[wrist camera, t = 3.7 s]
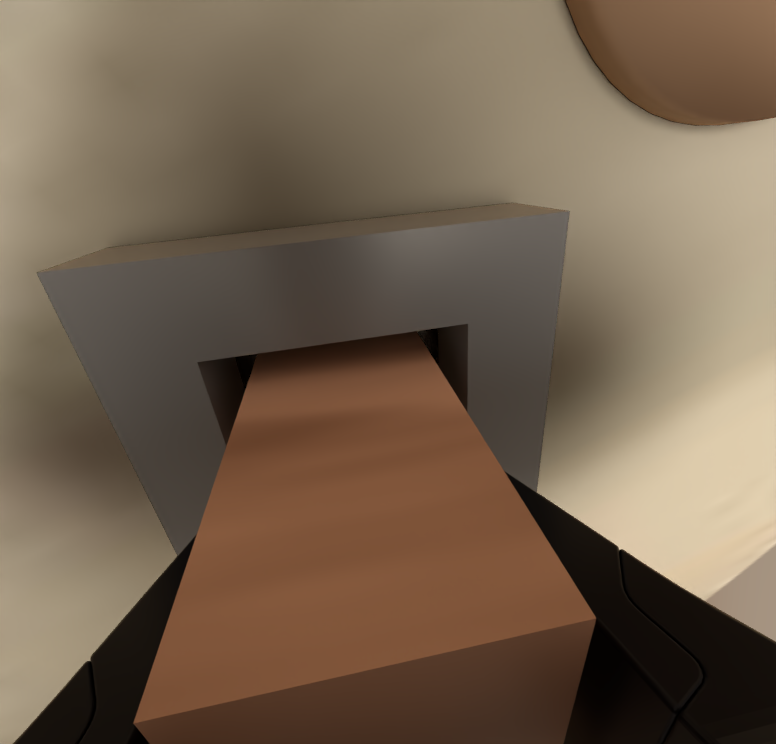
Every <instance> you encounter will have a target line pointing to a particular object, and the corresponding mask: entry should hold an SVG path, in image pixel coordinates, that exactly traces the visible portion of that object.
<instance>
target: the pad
mask: <svg viewBox="0 0 776 744" xmlns="http://www.w3.org/2000/svg"><path fill="white" fill-rule="evenodd" d="M566 3H567V5H568V8H569V10H570V13H571V15H572V18H573V20H574V23H575V25H576V28H577V30H578V33H579V35H580V37H581V39H582V40H583V42H584V44H585V46H586V47H587V49H588V51H589V53H590V55H591V56H592V58H593V60H594V62H595V63H596V64H597V65H598V67H599V68H600V69H601V71H602V72H603V73H604V74H605V76H606V77H607V78H608V80H609V81H610V82H611V83H612V84H613V85H614V86H615V87H616V88H617V89H618V90H619V91H620V92H622V93H623V94H624V95H625V96H626V97H627V98H628V99H629V100H630V101H632V102H633V103H635V104H637V105H638V106H640V107H642V108H643V109H645V110H646V111H648V112H650V113H651V114H654V115H657V116H659V117H662V118H665V119H667V120H670V121H673V122H679V123H684V124H690V125H724V124H732V123H740V122H749V121H757V120H763V119H769V118H774V117H776V0H566Z"/></svg>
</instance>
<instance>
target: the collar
mask: <svg viewBox="0 0 776 744" xmlns="http://www.w3.org/2000/svg"><path fill="white" fill-rule="evenodd" d="M569 212H570V211H565V210H558V209H552V208H545V207H538V206H531V205H525V204H518V203H505V204H496V205H487V206H478V207H469V208H460V209H451V210H442V211H433V212H424V213H415V214H406V215H397V216H388V217H379V218H370V219H361V220H352V221H343V222H334V223H325V224H317V225H308V226H299V227H290V228H281V229H272V230H263V231H254V232H245V233H236V234H227V235H218V236H209V237H200V238H191V239H182V240H173V241H164V242H155V243H146V244H137V245H128V246H119V247H110V248H105V249H102V250H99V251H97V252H94V253H91V254H88V255H85V256H82V257H80V258H77V259H74V260H71V261H68V262H65V263H62V264H60V265H57V266H54V267H51V268H48V269H45V270H43V271H40V272H37V275H38V277H39V279H40V281H41V283H42V285H43V287H44V289H45V291H46V293H47V295H48V297H49V299H50V301H51V303H52V305H53V307H54V309H55V311H56V313H57V315H58V317H59V319H60V321H61V323H62V325H63V327H64V329H65V331H66V333H67V335H68V337H69V339H70V341H71V343H72V345H73V347H74V349H75V351H76V353H77V355H78V357H79V359H80V361H81V363H82V365H83V367H84V369H85V371H86V373H87V375H88V377H89V379H90V381H91V383H92V385H93V387H94V389H95V391H96V393H97V395H98V397H99V399H100V401H101V403H102V405H103V407H104V409H105V411H106V413H107V415H108V417H109V419H110V421H111V423H112V425H113V427H114V429H115V431H116V433H117V435H118V437H119V439H120V441H121V444H122V446H123V448H124V450H125V452H126V454H127V456H128V458H129V460H130V462H131V464H132V466H133V468H134V470H135V472H136V474H137V476H138V478H139V480H140V482H141V484H142V486H143V488H144V490H145V492H146V494H147V496H148V498H149V500H150V502H151V504H152V506H153V508H154V510H155V512H156V514H157V516H158V518H159V520H160V522H161V524H162V526H163V528H164V530H165V532H166V534H167V536H168V538H169V540H170V542H171V544H172V546H173V548H174V550H175V552H176V554H177V556H178V555H179V554H180V553H181V551H182V550H183V549H184V548H185V547H186V546H187V545H188V543H189V542H190V541H191V540H192V539H193V538H194V536H195V535H196V534H197V533H198V530H199V527H200V524H201V521H202V518H203V515H204V512H205V509H206V506H207V503H208V500H209V497H210V494H211V491H212V488H213V485H214V482H215V479H216V476H217V473H218V470H219V467H220V464H221V461H222V458H223V455H224V452H225V449H226V446H227V443H228V440H229V437H230V434H231V431H232V428H233V425H234V422H235V419H236V416H237V413H238V411H239V408H240V405H241V402H242V399H243V396H244V393H245V390H244V386H243V383H242V380H241V376H240V373H239V369H238V366H237V363H236V359H235V357H238V356H245V355H252V354H259V353H266V352H273V351H280V350H287V349H294V348H301V347H308V346H315V345H322V344H329V343H336V342H343V341H350V340H357V339H364V338H372V337H379V336H386V335H393V334H400V333H407V332H414V331H421V330H428V329H435V328H438V360H439V368H440V370H441V371H442V373H443V375H444V376H445V378H446V379H447V381H448V383H449V384H450V386H451V387H452V389H453V391H454V392H455V394H456V395H457V397H458V398H459V400H460V402H461V403H462V405H463V406H464V408H465V410H466V411H467V413H468V414H469V416H470V418H471V419H472V421H473V422H474V424H475V426H476V427H477V429H478V430H479V432H480V434H481V435H482V437H483V438H484V440H485V442H486V443H487V445H488V446H489V448H490V449H491V451H492V453H493V454H494V456H495V457H496V459H497V461H498V462H499V464H500V465H501V467H502V469H503V470H504V471H505V472H507V473H508V474H510V475H511V476H513V477H514V478H516V479H517V480H519V481H520V482H522V483H523V484H525V485H526V486H528V487H529V488H531V489H532V490H534V491H535V492H537V485H538V476H539V468H540V459H541V451H542V442H543V434H544V425H545V417H546V408H547V399H548V391H549V382H550V374H551V365H552V357H553V348H554V340H555V331H556V323H557V314H558V306H559V297H560V288H561V280H562V271H563V263H564V254H565V246H566V237H567V229H568V220H569Z"/></svg>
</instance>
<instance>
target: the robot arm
mask: <svg viewBox="0 0 776 744" xmlns="http://www.w3.org/2000/svg"><path fill="white" fill-rule="evenodd" d="M504 472H505V471H504ZM505 473H506V475H507V477H508V478H509V480H510V481H511V483H512V485H513V486H514V488H515V489H516V491H517V493H518V494H519V496H520V497H521V499H522V500H523V502H524V504H525V505H526V507H527V508H528V510H529V512H530V513H531V515H532V516H533V518H534V520H535V521H536V523H537V524H538V526H539V528H540V529H541V531H542V532H543V534H544V536H545V537H546V539H547V540H548V542H549V544H550V545H551V547H552V548H553V550H554V552H555V553H556V555H557V556H558V558H559V559H560V561H561V563H562V564H563V566H564V567H565V569H566V571H567V572H568V574H569V575H570V577H571V579H572V580H573V582H574V583H575V585H576V587H577V588H578V590H579V591H580V593H581V595H582V596H583V598H584V599H585V601H586V603H587V604H588V606H589V607H590V609H591V610H592V612H593V614H594V615H595V617H596V622H595V625H594V629H593V633H592V637H591V641H590V644H589V648H588V652H587V656H586V660H585V663H584V667H583V671H582V675H581V679H580V682H579V686H578V690H577V694H576V698H575V702H574V705H573V709H572V713H571V717H570V721H569V724H568V728H567V732H566V736H565V740H564V743H563V744H776V642H775V641H773V640H772V639H770V638H768V637H766V636H765V635H763V634H761V633H760V632H758V631H756V630H754V629H753V628H751V627H749V626H747V625H746V624H744V623H742V622H740V621H738V620H737V619H735V618H733V617H731V616H730V615H728V614H726V613H724V612H722V611H721V610H719V609H717V608H716V607H714V606H712V605H710V604H709V603H707V602H706V601H704V600H702V599H701V598H699V597H697V596H695V595H694V594H692V593H690V592H689V591H687V590H685V589H684V588H682V587H680V586H679V585H677V584H675V583H674V582H672V581H671V580H669V579H668V578H666V577H664V576H663V575H661V574H660V573H658V572H657V571H655V570H653V569H652V568H650V567H649V566H647V565H646V564H644V563H642V562H641V561H639V560H638V559H636V558H635V557H633V556H632V555H630V554H629V553H627V552H626V551H624V550H622V549H621V550H619V548H618V546H617V545H615V544H614V543H612V542H611V541H609V540H608V539H606V538H605V537H603V536H602V535H600V534H599V533H597V532H596V531H594V530H593V529H591V528H590V527H588V526H587V525H585V524H584V523H582V522H581V521H579V520H577V519H576V518H574V517H573V516H571V515H570V514H568V513H567V512H565V511H564V510H562V509H561V508H559V507H558V506H556V505H555V504H553V503H552V502H550V501H549V500H547V499H546V498H544V497H543V496H541V495H540V494H538V493H537V492H535V491H534V490H532V489H531V488H529V487H528V486H526V485H525V484H523V483H522V482H520V481H519V480H517V479H516V478H514V477H513V476H511V475H510V474H508V473H507V472H505ZM196 535H197V534H196ZM196 535H195V536H194V538H193V539H192V540H191V541H190V542H189V543H188V545H187V546H186V547H185V548H184V549H183V550H182V551H181V553H180V554H179V555H178V556H177V557H176V558H175V560H174V561H173V562H172V563H171V564H170V565H169V566H168V568H167V569H166V570H165V571H164V572H163V573H162V575H161V576H160V577H159V578H158V579H157V580H156V582H155V583H154V584H153V585H152V586H151V587H150V588H149V590H148V591H147V592H146V593H145V594H144V595H143V597H142V598H141V599H140V600H139V601H138V602H137V604H136V605H135V606H134V607H133V608H132V609H131V610H130V612H129V613H128V614H127V615H126V616H125V617H124V619H123V620H122V621H121V622H120V623H119V624H118V625H117V627H116V628H115V629H114V630H113V631H112V632H111V634H110V635H109V636H108V637H107V638H106V639H105V641H104V642H103V643H102V644H101V645H100V646H99V647H98V649H97V650H96V651H95V652H94V653H93V654H92V656H91V661H87V662H85V663H84V665H83V666H82V667H81V668H80V669H79V670H78V671H77V673H76V674H75V675H74V676H73V677H72V678H71V680H70V681H69V682H68V683H67V684H66V685H65V687H64V688H63V689H62V690H61V691H60V692H59V693H58V694H57V696H56V697H55V698H54V699H53V700H52V701H51V702H50V703H49V704H48V706H47V707H46V708H45V709H44V710H43V711H42V712H41V713H40V715H39V716H38V717H37V718H36V719H35V720H34V721H33V722H32V724H31V725H30V726H29V727H28V728H27V729H26V730H25V731H24V732H23V734H22V735H21V736H20V737H19V738H18V739H17V740H16V741H15V742H14V743H13V744H150V743H149V742H148V741H147V740H146V738H145V737H144V736H143V735H142V733H141V732H140V731H139V730H138V729H137V727H136V726H135V725H134V724H133V723H134V720H135V717H136V714H137V711H138V708H139V705H140V702H141V699H142V696H143V693H144V690H145V687H146V684H147V681H148V678H149V675H150V672H151V669H152V666H153V663H154V660H155V657H156V655H157V652H158V649H159V646H160V643H161V640H162V637H163V634H164V631H165V628H166V625H167V622H168V619H169V616H170V613H171V610H172V607H173V604H174V601H175V598H176V595H177V592H178V589H179V586H180V583H181V580H182V577H183V574H184V571H185V568H186V565H187V562H188V559H189V556H190V553H191V550H192V547H193V544H194V541H195V538H196Z"/></svg>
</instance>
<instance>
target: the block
mask: <svg viewBox="0 0 776 744" xmlns="http://www.w3.org/2000/svg"><path fill="white" fill-rule="evenodd" d="M595 622H596V617H595V615H594V614H593V612H592V610H591V609H590V607H589V606H588V604H587V603H586V601H585V599H584V598H583V596H582V595H581V593H580V591H579V590H578V588H577V587H576V585H575V583H574V582H573V580H572V579H571V577H570V575H569V574H568V572H567V571H566V569H565V567H564V566H563V564H562V563H561V561H560V559H559V558H558V556H557V555H556V553H555V552H554V550H553V548H552V547H551V545H550V544H549V542H548V540H547V539H546V537H545V536H544V534H543V532H542V531H541V529H540V528H539V526H538V524H537V523H536V521H535V520H534V518H533V516H532V515H531V513H530V512H529V510H528V508H527V507H526V505H525V504H524V502H523V500H522V499H521V497H520V496H519V494H518V493H517V491H516V489H515V488H514V486H513V485H512V483H511V481H510V480H509V478H508V477H507V475H506V473H505V472H504V470H503V469H502V467H501V465H500V464H499V462H498V461H497V459H496V457H495V456H494V454H493V453H492V451H491V449H490V448H489V446H488V445H487V443H486V442H485V440H484V438H483V437H482V435H481V434H480V432H479V430H478V429H477V427H476V426H475V424H474V422H473V421H472V419H471V418H470V416H469V414H468V413H467V411H466V410H465V408H464V406H463V405H462V403H461V402H460V400H459V398H458V397H457V395H456V394H455V392H454V391H453V389H452V387H451V386H450V384H449V383H448V381H447V379H446V378H445V376H444V375H443V373H442V371H441V370H440V368H439V367H438V365H437V363H436V362H435V360H434V359H433V357H432V355H431V354H430V352H429V351H428V349H427V347H426V346H425V344H424V343H423V341H422V340H421V338H420V336H419V335H418V333H417V332H416V331H414V332H407V333H400V334H393V335H386V336H379V337H372V338H364V339H357V340H350V341H343V342H336V343H329V344H322V345H315V346H308V347H301V348H294V349H287V350H280V351H273V352H266V353H259V354H257V357H256V360H255V363H254V366H253V369H252V372H251V375H250V378H249V381H248V384H247V387H246V390H245V393H244V396H243V399H242V402H241V405H240V408H239V411H238V413H237V416H236V419H235V422H234V425H233V428H232V431H231V434H230V437H229V440H228V443H227V446H226V449H225V452H224V455H223V458H222V461H221V464H220V467H219V470H218V473H217V476H216V479H215V482H214V485H213V488H212V491H211V494H210V497H209V500H208V503H207V506H206V509H205V512H204V515H203V518H202V521H201V524H200V527H199V530H198V533H197V535H196V538H195V541H194V544H193V547H192V550H191V553H190V556H189V559H188V562H187V565H186V568H185V571H184V574H183V577H182V580H181V583H180V586H179V589H178V592H177V595H176V598H175V601H174V604H173V607H172V610H171V613H170V616H169V619H168V622H167V625H166V628H165V631H164V634H163V637H162V640H161V643H160V646H159V649H158V652H157V655H156V657H155V660H154V663H153V666H152V669H151V672H150V675H149V678H148V681H147V684H146V687H145V690H144V693H143V696H142V699H141V702H140V705H139V708H138V711H137V714H136V717H135V720H134V723H133V724H134V725H135V726H136V727H137V729H138V730H139V731H140V732H141V733H142V735H143V736H144V737H145V738H146V740H147V741H148V742H149V743H150V744H563V743H564V740H565V736H566V732H567V728H568V724H569V721H570V717H571V713H572V709H573V705H574V702H575V698H576V694H577V690H578V686H579V682H580V679H581V675H582V671H583V667H584V663H585V660H586V656H587V652H588V648H589V644H590V641H591V637H592V633H593V629H594V625H595Z"/></svg>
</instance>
